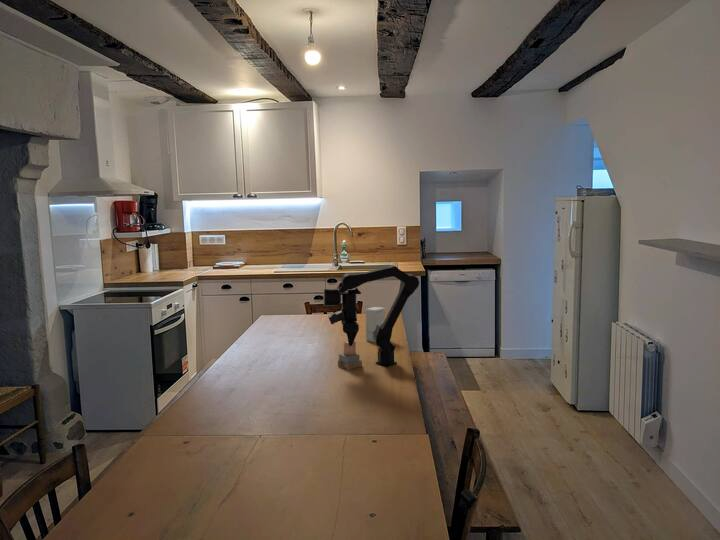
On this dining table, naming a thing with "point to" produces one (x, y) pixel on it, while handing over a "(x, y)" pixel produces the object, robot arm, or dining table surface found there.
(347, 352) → the terracotta cylinder
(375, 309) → the skincare box
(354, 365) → the walnut block
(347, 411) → the dining table surface
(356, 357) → the grey block
